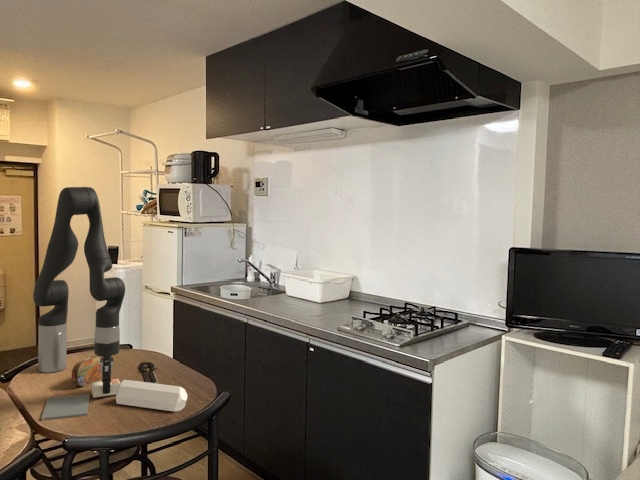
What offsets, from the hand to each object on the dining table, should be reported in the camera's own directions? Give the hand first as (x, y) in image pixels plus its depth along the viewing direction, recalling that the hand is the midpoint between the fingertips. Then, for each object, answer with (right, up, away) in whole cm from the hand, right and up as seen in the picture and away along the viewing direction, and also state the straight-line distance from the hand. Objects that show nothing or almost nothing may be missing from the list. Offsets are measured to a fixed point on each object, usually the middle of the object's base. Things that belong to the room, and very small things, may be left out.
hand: (106, 390), depth 162 cm
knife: (+7, -1, +22) cm, 23 cm away
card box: (0, -1, 0) cm, 1 cm away
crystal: (+17, -3, -6) cm, 18 cm away
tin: (-11, -1, +11) cm, 16 cm away
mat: (-7, -2, -11) cm, 13 cm away
